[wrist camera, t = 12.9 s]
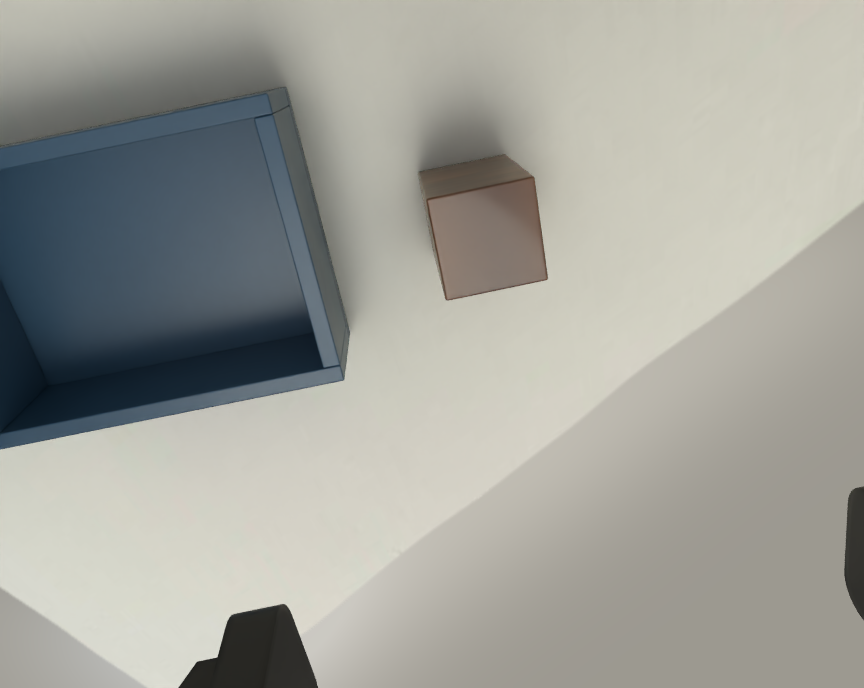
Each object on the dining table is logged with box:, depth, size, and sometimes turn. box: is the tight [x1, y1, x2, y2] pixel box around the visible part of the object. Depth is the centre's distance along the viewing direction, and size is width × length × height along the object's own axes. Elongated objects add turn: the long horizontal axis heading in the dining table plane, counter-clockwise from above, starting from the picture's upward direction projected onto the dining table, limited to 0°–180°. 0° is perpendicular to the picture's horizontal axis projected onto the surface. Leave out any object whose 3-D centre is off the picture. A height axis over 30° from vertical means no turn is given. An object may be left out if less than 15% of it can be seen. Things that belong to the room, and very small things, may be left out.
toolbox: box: [0, 87, 350, 449], centre depth 32 cm, size 17×13×6 cm
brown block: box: [418, 154, 548, 300], centre depth 31 cm, size 4×4×7 cm
